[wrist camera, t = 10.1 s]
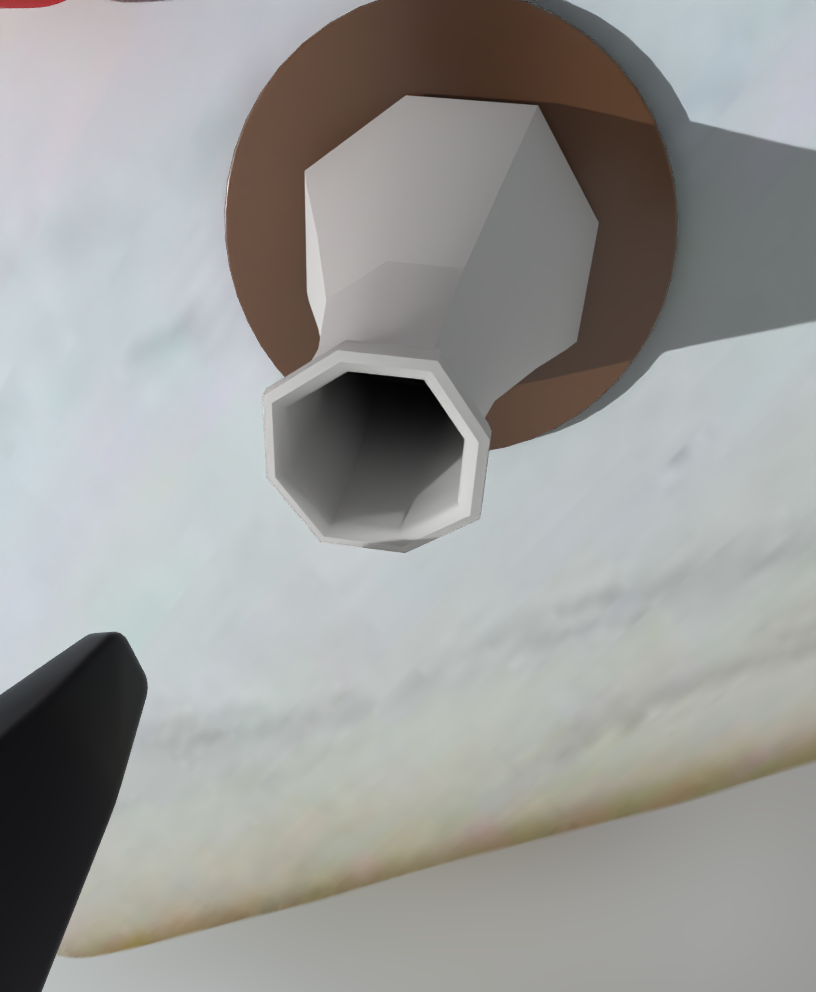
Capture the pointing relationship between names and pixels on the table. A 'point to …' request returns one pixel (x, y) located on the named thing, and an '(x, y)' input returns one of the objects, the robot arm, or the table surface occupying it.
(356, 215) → the flask
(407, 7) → the coaster
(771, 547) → the table surface
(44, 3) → the beverage can
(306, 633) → the table surface
